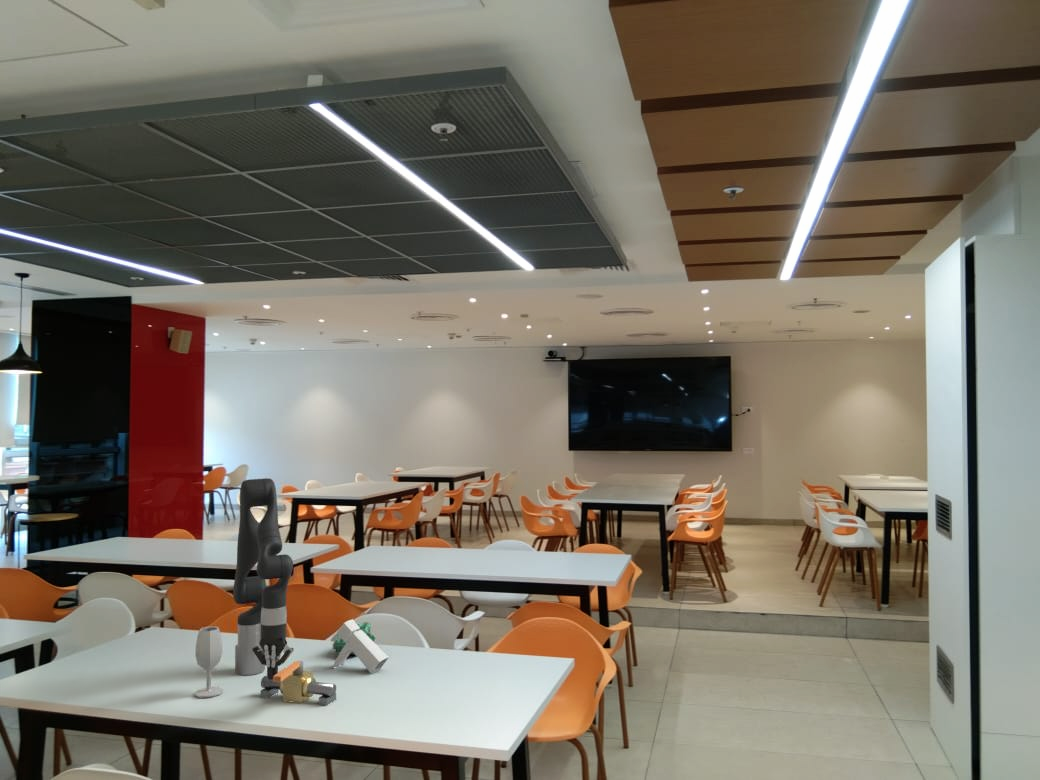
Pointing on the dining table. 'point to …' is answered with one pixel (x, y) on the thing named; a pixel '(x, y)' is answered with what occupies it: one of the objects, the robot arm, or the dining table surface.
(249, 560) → the robot arm
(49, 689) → the dining table surface
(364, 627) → the mineral
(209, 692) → the wineglass
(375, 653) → the faucet
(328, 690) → the valve
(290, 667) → the lever
